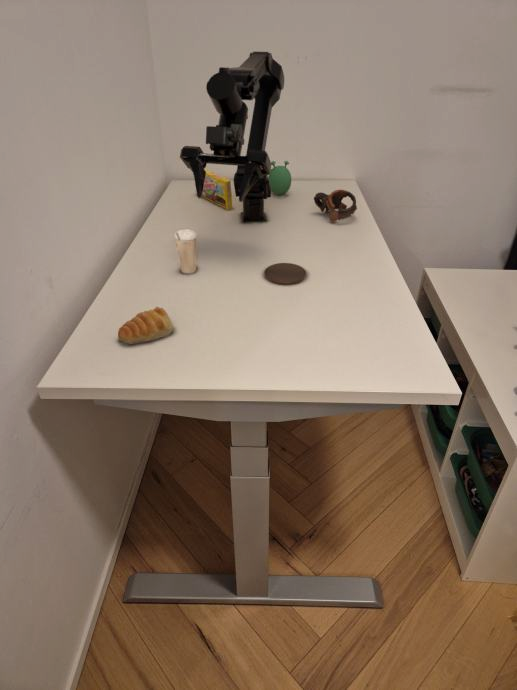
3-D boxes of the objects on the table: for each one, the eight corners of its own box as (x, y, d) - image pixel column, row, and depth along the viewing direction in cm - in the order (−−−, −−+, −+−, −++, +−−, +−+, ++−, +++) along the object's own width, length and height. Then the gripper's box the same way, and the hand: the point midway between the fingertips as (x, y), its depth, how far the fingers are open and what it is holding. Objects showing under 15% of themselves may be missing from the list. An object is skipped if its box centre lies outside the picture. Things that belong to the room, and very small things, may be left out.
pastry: (129, 352, 79) (125, 334, 77) (112, 335, 83) (108, 317, 81) (177, 332, 84) (174, 314, 82) (158, 317, 88) (156, 299, 86)
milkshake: (172, 274, 101) (166, 231, 96) (184, 264, 105) (180, 221, 100) (191, 278, 100) (186, 234, 94) (202, 267, 104) (198, 224, 98)
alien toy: (285, 189, 147) (287, 156, 141) (293, 197, 141) (295, 163, 135) (264, 191, 145) (264, 157, 139) (271, 199, 139) (272, 164, 133)
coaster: (261, 266, 104) (261, 264, 104) (301, 264, 105) (301, 261, 105) (267, 286, 97) (267, 283, 97) (309, 283, 98) (310, 280, 98)
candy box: (197, 195, 143) (194, 167, 138) (202, 193, 144) (200, 166, 139) (226, 210, 132) (225, 180, 127) (233, 208, 133) (232, 179, 128)
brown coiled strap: (355, 212, 132) (363, 192, 124) (345, 238, 128) (353, 218, 120) (315, 197, 133) (321, 177, 125) (304, 222, 129) (309, 202, 121)
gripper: (176, 104, 93) (163, 179, 92) (267, 108, 89) (254, 187, 89) (195, 133, 104) (183, 201, 103) (276, 138, 100) (264, 208, 99)
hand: (219, 199), depth 98 cm, fingers open, 9 cm apart
